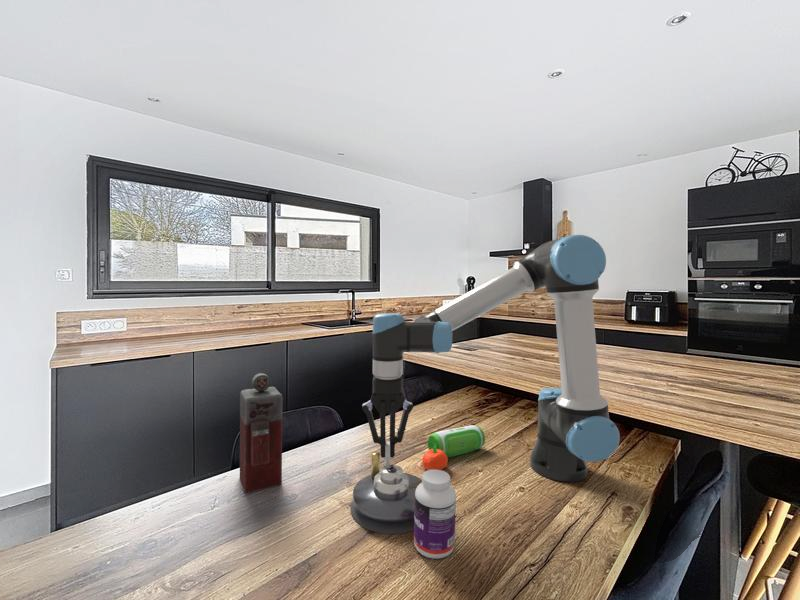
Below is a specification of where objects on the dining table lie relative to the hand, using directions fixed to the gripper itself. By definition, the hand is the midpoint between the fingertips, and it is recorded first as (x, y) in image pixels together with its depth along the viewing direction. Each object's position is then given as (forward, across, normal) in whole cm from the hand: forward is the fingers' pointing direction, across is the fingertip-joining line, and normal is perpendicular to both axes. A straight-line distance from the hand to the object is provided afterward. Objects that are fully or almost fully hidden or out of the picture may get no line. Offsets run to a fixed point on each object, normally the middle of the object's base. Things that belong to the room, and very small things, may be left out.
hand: (387, 469), depth 94 cm
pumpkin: (+6, -14, -11) cm, 19 cm away
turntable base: (+6, -1, +7) cm, 9 cm away
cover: (+2, -1, +7) cm, 7 cm away
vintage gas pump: (+5, +32, -5) cm, 33 cm away
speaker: (+6, -22, -21) cm, 31 cm away
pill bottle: (+6, -8, +20) cm, 23 cm away
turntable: (+4, -1, +7) cm, 8 cm away
